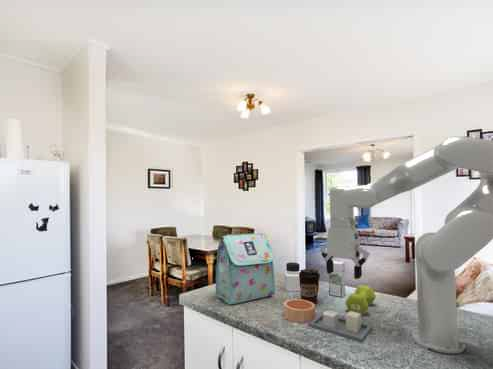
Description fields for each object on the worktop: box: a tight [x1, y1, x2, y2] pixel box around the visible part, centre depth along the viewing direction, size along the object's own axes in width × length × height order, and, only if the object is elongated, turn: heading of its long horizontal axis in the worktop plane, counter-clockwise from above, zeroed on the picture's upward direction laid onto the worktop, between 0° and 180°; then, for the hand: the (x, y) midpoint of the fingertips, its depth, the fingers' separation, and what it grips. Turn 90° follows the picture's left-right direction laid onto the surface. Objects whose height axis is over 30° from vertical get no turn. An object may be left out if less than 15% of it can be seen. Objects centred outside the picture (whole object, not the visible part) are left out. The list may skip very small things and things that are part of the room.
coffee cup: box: [299, 268, 321, 306], centre depth 114 cm, size 9×8×13 cm
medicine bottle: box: [283, 261, 301, 292], centre depth 132 cm, size 7×7×12 cm
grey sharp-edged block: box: [323, 310, 339, 330], centre depth 90 cm, size 4×4×4 cm
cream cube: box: [345, 310, 362, 332], centre depth 90 cm, size 4×4×4 cm
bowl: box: [283, 298, 316, 324], centre depth 100 cm, size 10×10×4 cm
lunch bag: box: [215, 233, 276, 306], centre depth 122 cm, size 23×16×27 cm
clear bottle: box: [328, 259, 346, 298], centre depth 124 cm, size 6×6×14 cm
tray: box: [308, 312, 373, 343], centre depth 91 cm, size 16×11×2 cm, turn 52°
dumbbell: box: [345, 284, 376, 316], centre depth 108 cm, size 16×8×7 cm, turn 145°
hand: (343, 275), depth 94 cm, fingers open, 9 cm apart
